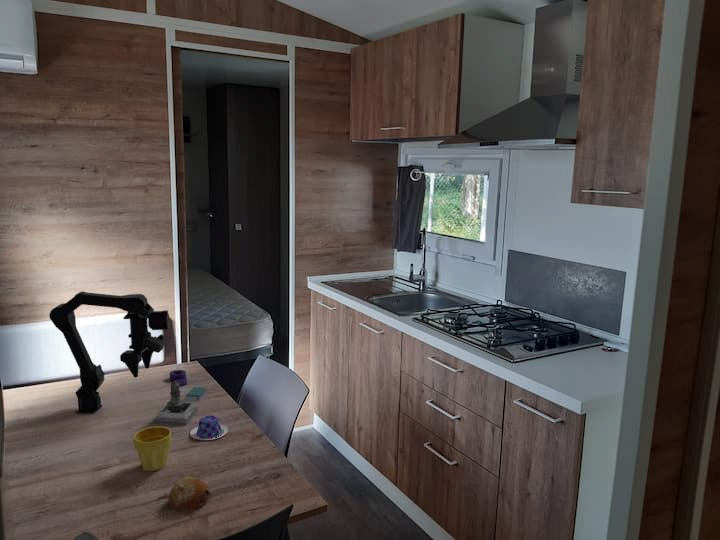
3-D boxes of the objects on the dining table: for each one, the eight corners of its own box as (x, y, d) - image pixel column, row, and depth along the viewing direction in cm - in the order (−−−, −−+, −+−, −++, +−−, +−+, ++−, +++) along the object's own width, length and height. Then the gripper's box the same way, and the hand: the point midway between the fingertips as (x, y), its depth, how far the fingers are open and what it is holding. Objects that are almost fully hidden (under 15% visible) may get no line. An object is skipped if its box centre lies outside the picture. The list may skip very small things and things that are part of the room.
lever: (168, 378, 239) (168, 371, 239) (183, 376, 242) (183, 368, 242) (175, 388, 229) (174, 380, 228) (191, 385, 232) (191, 377, 232)
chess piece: (184, 415, 199) (183, 382, 197) (166, 417, 198) (164, 383, 196) (185, 408, 205) (184, 376, 203) (168, 410, 204) (166, 377, 202)
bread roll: (181, 503, 157) (167, 478, 155) (216, 486, 157) (202, 462, 155) (173, 525, 147) (158, 499, 145) (210, 507, 147) (195, 481, 145)
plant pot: (137, 477, 162) (135, 445, 160) (133, 461, 171) (131, 430, 169) (176, 469, 167) (174, 437, 165) (169, 453, 176) (167, 423, 174)
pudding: (182, 438, 187) (181, 422, 186) (205, 423, 198) (204, 408, 197) (213, 445, 182) (213, 429, 182) (235, 429, 193) (234, 414, 193)
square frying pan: (154, 423, 197) (154, 413, 196) (186, 391, 225) (185, 382, 225) (186, 424, 196) (186, 414, 195) (213, 392, 225) (213, 383, 224)
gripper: (150, 338, 195) (152, 383, 198) (171, 324, 213) (173, 364, 216) (118, 337, 196) (120, 381, 198) (142, 323, 214) (144, 363, 217)
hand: (141, 372), depth 207 cm, fingers open, 9 cm apart
